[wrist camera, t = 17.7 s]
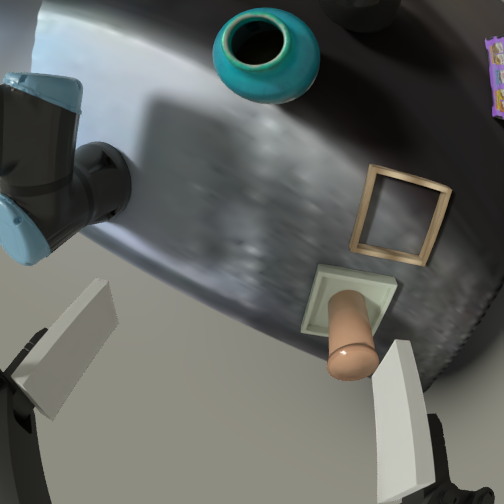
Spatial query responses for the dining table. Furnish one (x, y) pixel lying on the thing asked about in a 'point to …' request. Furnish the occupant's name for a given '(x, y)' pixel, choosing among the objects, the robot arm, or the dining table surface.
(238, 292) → the dining table surface
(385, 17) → the pump dispenser
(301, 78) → the vase
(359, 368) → the canister
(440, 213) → the oak corral
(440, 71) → the dining table surface
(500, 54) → the candy box
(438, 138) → the dining table surface
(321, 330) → the green tray
